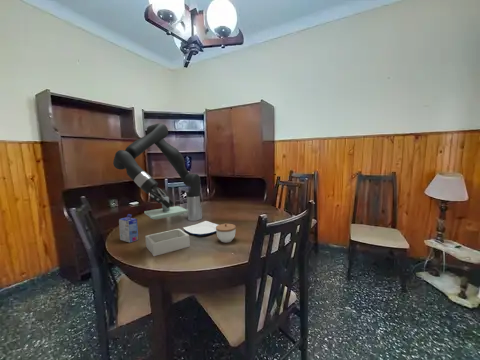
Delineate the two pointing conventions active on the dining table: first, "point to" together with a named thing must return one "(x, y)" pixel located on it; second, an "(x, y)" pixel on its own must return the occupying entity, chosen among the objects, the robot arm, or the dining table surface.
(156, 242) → the open box
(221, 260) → the dining table surface
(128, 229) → the ink cartridge box
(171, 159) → the robot arm
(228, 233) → the lidded jar
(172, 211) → the lid
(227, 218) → the dining table surface
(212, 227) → the plate
